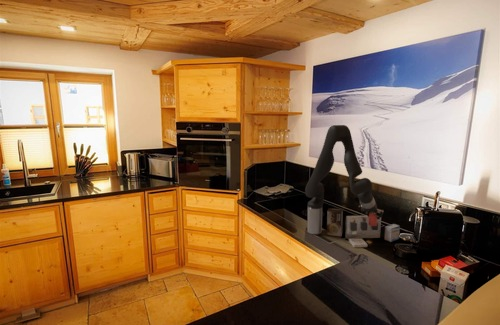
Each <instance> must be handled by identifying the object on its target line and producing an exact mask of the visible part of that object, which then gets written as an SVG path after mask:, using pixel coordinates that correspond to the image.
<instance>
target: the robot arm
mask: <svg viewBox="0 0 500 325" xmlns="http://www.w3.org/2000/svg"><path fill="white" fill-rule="evenodd" d="M353 142H354V141H353V137H352V133H351V130H350V128H349V127H348V126H347V125H344V124H335V125H331V126H329V127H328V130H327V132H326V135H325V139H324V143H323V146H322V149H321V151H320V154H319V155H318V158H317V161H316V164H315V167H314V169H313V172H312V174H311V176H310V178H309V180H308V182H307V183H306V186H305V188H304V189H305V190H304V193H305V196H306V197H308V198H311V200H309V201H307V233H308V234H311V235H321V234H322V231H323V229H322V228H323V227H322V226H323V205H324V201H325V200H324V198H325V187H324V185H323V183H322V182H321V181H322V180H323V179H324V178H326V176H328V174H330V172H331V170H332V168H333V166H334V164H335V157H334V153H333V152H334V151H333V150H334V148H335V145H336V143H342V145H343V147H344V154H343V155H344V156H343V163H344V166H345V170H346V172H347V175H348V178H349V187H350V188H349V189H350V192H351V193H352V194H353V195H355V196H357V198H358V200H359V204H358V208H357V209H358V210H359V211H360V212H361V213H362V214H365V216H368V217H369V212H370V213H373V214H374V215H376V217H377V219H380V217H381V218H382V217H383V214H384V208H381V209H379V207H377V206H378V205H377V202H376V200H375V198H374V196H373V194H372V191H373V183H372V181H371V180H370V179H369V178H367V177H362V178H361V179H357V180H356V178H357V177H358V176H361V175H362V173H363V170H362V166H361V165H360V162H359V160H358V157H357V155H356V151H355V146H354V143H353Z"/></svg>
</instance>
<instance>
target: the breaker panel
mask: <svg viewBox="0 0 500 325" xmlns="http://www.w3.org/2000/svg"><path fill="white" fill-rule="evenodd" d="M368 221H369V217H368V216H367V215H346V216H345V235H344V237H345V239H347V240H349V239H357V238H362V239H374V238H375V239H378V238H379V239H380V238H381V229H382V228H381V226H382V217H380V219H377V226H371V225H369V224H368Z"/></svg>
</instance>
